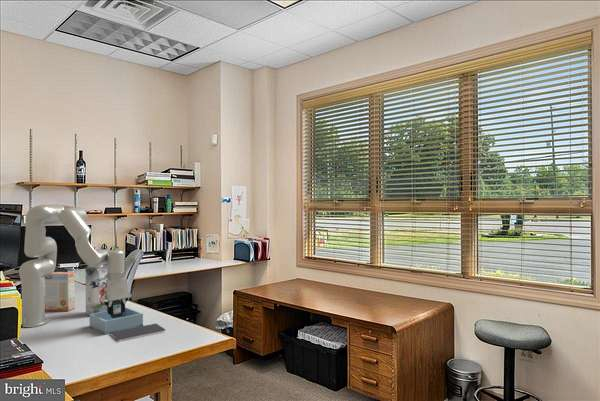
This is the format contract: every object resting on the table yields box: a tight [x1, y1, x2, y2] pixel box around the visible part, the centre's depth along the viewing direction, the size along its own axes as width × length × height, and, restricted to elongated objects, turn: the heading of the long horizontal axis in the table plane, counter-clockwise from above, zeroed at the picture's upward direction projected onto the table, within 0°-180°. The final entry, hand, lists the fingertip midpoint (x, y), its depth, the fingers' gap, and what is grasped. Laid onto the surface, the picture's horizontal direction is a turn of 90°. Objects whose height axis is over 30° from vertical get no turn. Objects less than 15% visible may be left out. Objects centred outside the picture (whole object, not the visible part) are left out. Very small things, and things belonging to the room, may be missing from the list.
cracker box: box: [44, 271, 76, 312], centre depth 232 cm, size 14×6×21 cm, turn 84°
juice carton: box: [84, 264, 108, 316], centre depth 225 cm, size 9×10×27 cm
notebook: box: [109, 323, 166, 342], centre depth 192 cm, size 13×2×21 cm
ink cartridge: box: [111, 300, 123, 318], centre depth 202 cm, size 5×2×8 cm, turn 131°
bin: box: [89, 306, 144, 336], centre depth 203 cm, size 18×18×6 cm
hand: (116, 312), depth 203 cm, fingers closed on ink cartridge, 5 cm apart
